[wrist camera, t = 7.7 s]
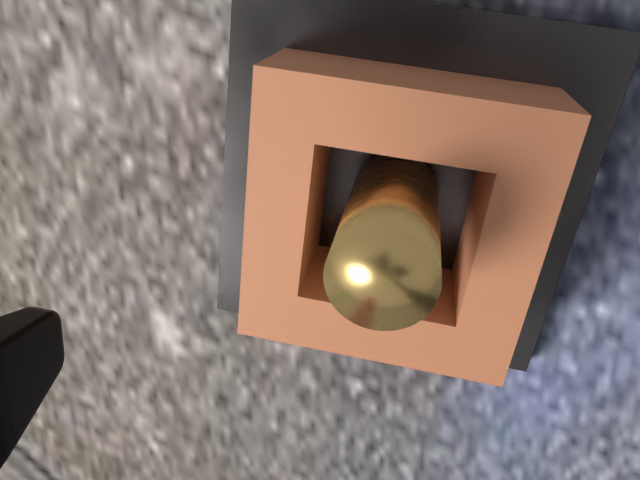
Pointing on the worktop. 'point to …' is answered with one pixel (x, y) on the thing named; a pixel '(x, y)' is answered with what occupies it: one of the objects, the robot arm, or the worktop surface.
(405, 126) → the ring
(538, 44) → the black plate with peg
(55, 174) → the worktop surface
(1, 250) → the worktop surface
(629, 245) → the worktop surface
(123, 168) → the worktop surface
